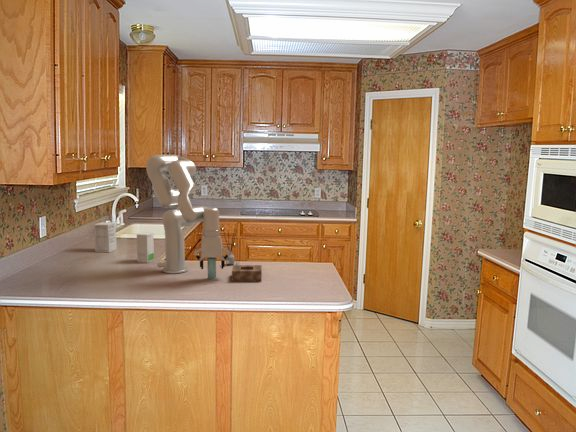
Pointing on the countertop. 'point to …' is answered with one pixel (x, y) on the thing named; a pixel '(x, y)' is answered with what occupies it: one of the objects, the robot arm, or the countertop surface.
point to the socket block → (246, 273)
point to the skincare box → (145, 247)
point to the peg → (211, 268)
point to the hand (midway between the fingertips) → (212, 268)
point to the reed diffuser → (231, 258)
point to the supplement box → (105, 237)
